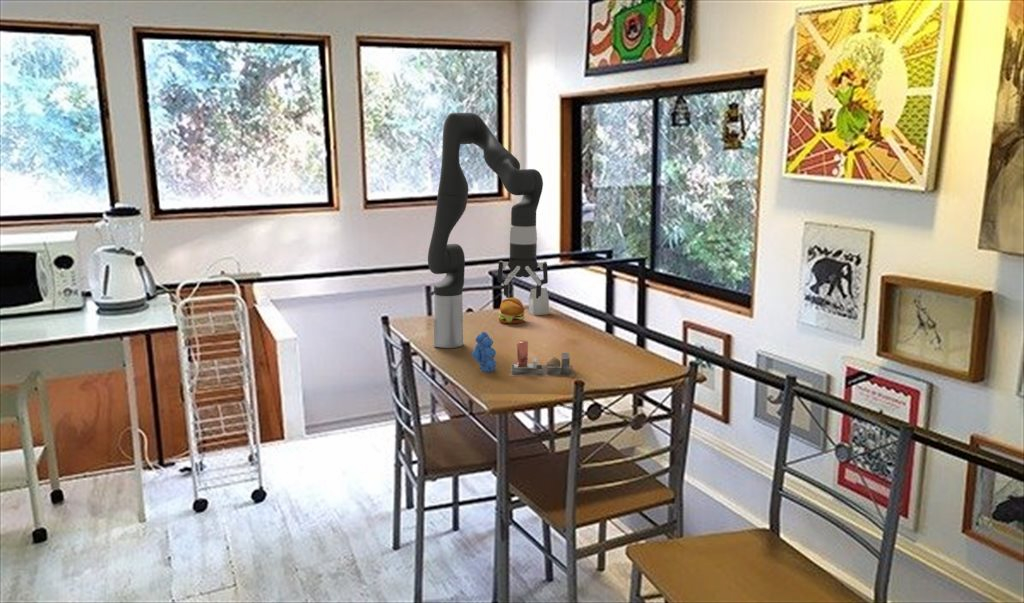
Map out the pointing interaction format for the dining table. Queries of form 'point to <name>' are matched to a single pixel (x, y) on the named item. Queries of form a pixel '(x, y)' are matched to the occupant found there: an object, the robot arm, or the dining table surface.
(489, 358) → the grapes
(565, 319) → the dining table surface
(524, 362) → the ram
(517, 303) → the cheeseburger
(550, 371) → the base
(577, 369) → the dining table surface
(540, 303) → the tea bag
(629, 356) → the dining table surface
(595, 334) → the dining table surface
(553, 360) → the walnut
